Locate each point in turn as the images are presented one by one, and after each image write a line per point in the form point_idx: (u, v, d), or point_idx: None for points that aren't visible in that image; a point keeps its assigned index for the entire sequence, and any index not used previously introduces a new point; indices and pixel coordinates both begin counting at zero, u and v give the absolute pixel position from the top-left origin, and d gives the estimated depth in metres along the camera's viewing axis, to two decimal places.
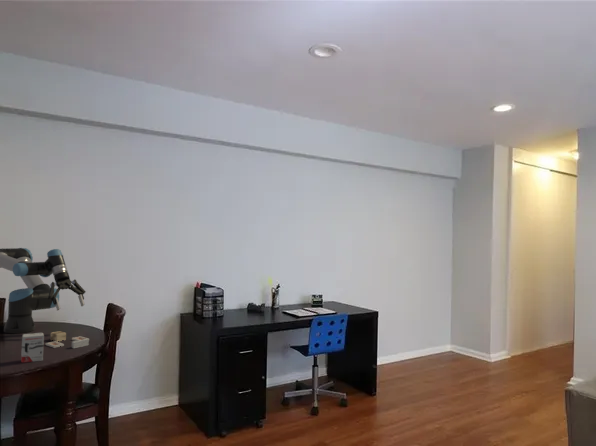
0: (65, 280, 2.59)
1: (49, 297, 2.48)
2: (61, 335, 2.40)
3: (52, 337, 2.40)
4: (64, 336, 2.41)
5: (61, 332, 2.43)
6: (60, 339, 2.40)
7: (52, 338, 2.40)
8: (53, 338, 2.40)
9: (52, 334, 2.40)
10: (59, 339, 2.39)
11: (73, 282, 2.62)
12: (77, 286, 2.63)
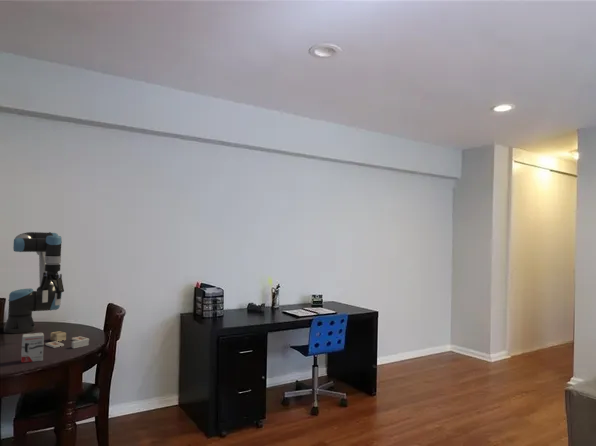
0: (51, 272, 2.45)
1: None
2: (61, 335, 2.40)
3: (52, 337, 2.40)
4: (64, 336, 2.42)
5: (61, 332, 2.43)
6: (60, 339, 2.40)
7: (52, 338, 2.40)
8: (53, 338, 2.40)
9: (52, 334, 2.40)
10: (59, 339, 2.39)
11: None
12: None
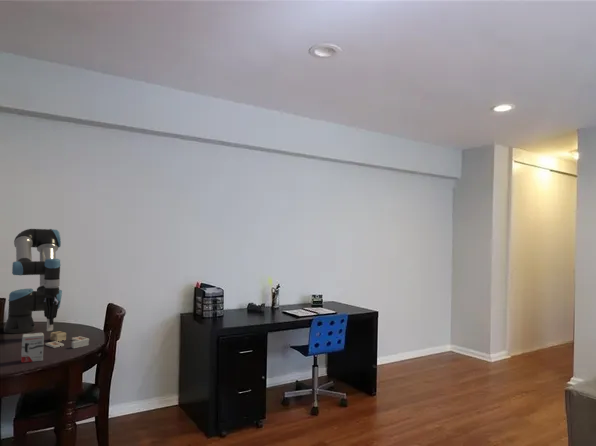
0: (50, 296, 2.45)
1: None
2: (61, 335, 2.40)
3: (52, 337, 2.40)
4: (64, 336, 2.42)
5: (61, 332, 2.43)
6: (60, 339, 2.40)
7: (52, 338, 2.40)
8: (53, 338, 2.40)
9: (52, 334, 2.40)
10: (59, 339, 2.39)
11: None
12: None
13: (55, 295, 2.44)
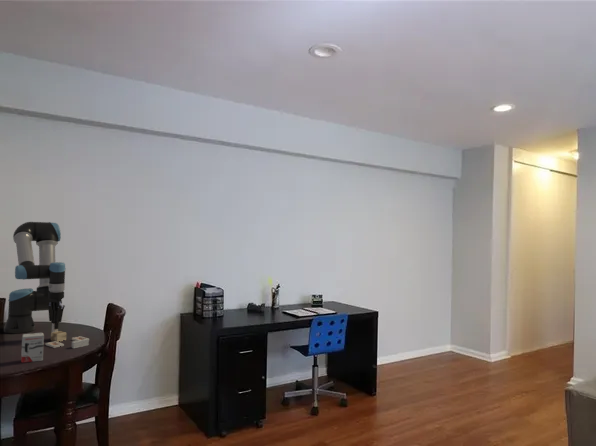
0: (55, 300, 2.42)
1: (50, 320, 2.45)
2: (61, 335, 2.40)
3: (53, 337, 2.40)
4: (64, 336, 2.41)
5: (61, 332, 2.42)
6: (60, 339, 2.39)
7: (52, 338, 2.40)
8: (53, 338, 2.39)
9: (52, 334, 2.40)
10: (59, 339, 2.39)
11: None
12: None
13: (60, 299, 2.42)
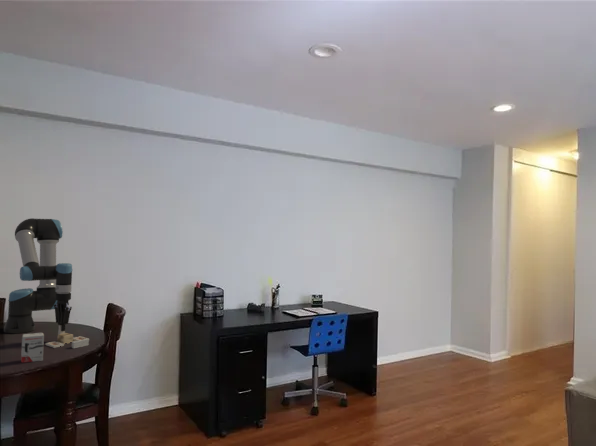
0: (61, 302, 2.39)
1: (57, 322, 2.41)
2: (68, 337, 2.36)
3: (59, 339, 2.36)
4: (71, 338, 2.38)
5: (68, 334, 2.39)
6: (67, 341, 2.36)
7: (59, 340, 2.36)
8: (60, 340, 2.36)
9: (59, 336, 2.37)
10: (66, 341, 2.35)
11: None
12: None
13: (67, 301, 2.38)
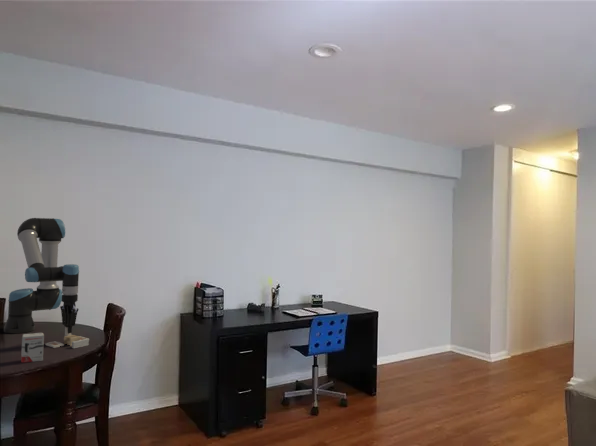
0: (68, 303, 2.36)
1: None
2: (75, 339, 2.33)
3: (66, 341, 2.33)
4: None
5: (75, 336, 2.36)
6: None
7: (66, 342, 2.33)
8: (67, 342, 2.33)
9: (66, 338, 2.33)
10: None
11: (72, 309, 2.34)
12: None
13: (74, 302, 2.35)
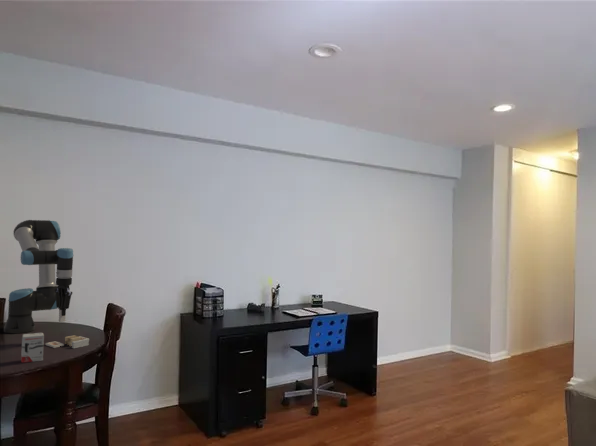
0: (62, 286, 2.39)
1: (58, 307, 2.42)
2: (76, 339, 2.33)
3: (67, 341, 2.33)
4: None
5: (76, 336, 2.35)
6: None
7: (66, 342, 2.33)
8: (68, 342, 2.32)
9: (67, 338, 2.33)
10: None
11: (66, 293, 2.38)
12: None
13: (68, 286, 2.39)
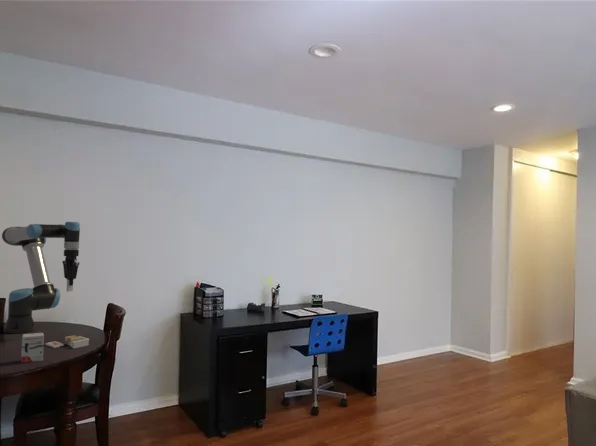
0: (70, 257, 2.52)
1: (65, 277, 2.55)
2: (76, 339, 2.32)
3: (67, 341, 2.33)
4: None
5: (76, 336, 2.35)
6: None
7: (66, 342, 2.33)
8: (67, 342, 2.32)
9: (67, 338, 2.33)
10: None
11: None
12: None
13: (75, 257, 2.52)
